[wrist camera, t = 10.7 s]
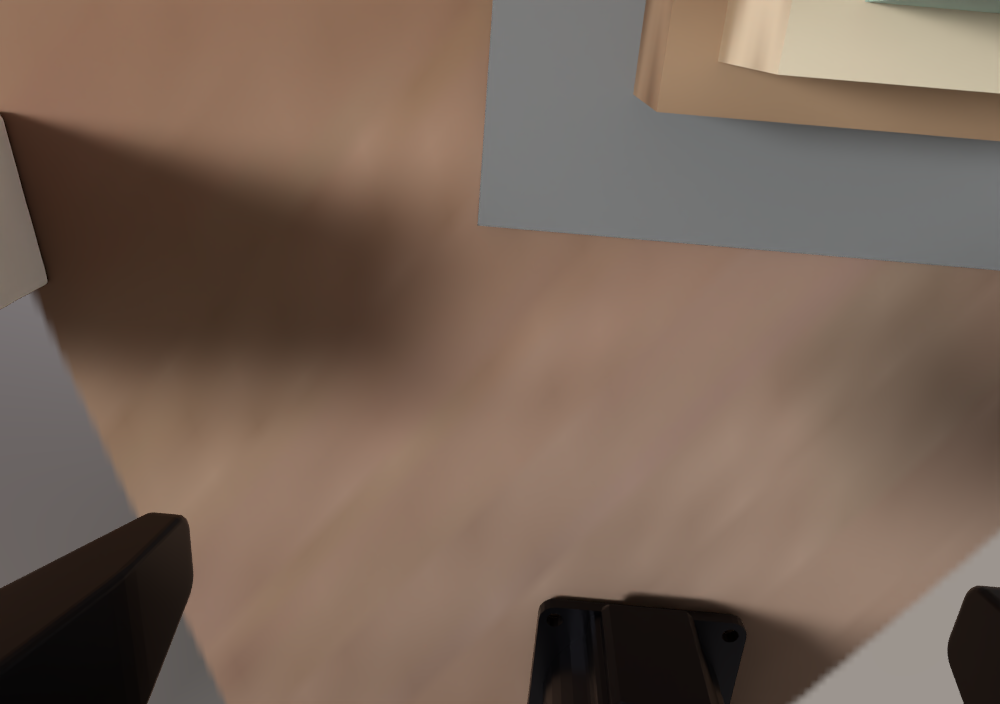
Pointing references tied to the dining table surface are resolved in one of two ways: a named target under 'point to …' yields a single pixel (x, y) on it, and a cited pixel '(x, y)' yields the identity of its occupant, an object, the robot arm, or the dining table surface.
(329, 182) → the dining table surface
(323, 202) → the dining table surface
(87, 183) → the dining table surface
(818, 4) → the birch block
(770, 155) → the slate mat
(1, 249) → the ink cartridge box
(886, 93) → the walnut slab
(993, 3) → the sage cube
